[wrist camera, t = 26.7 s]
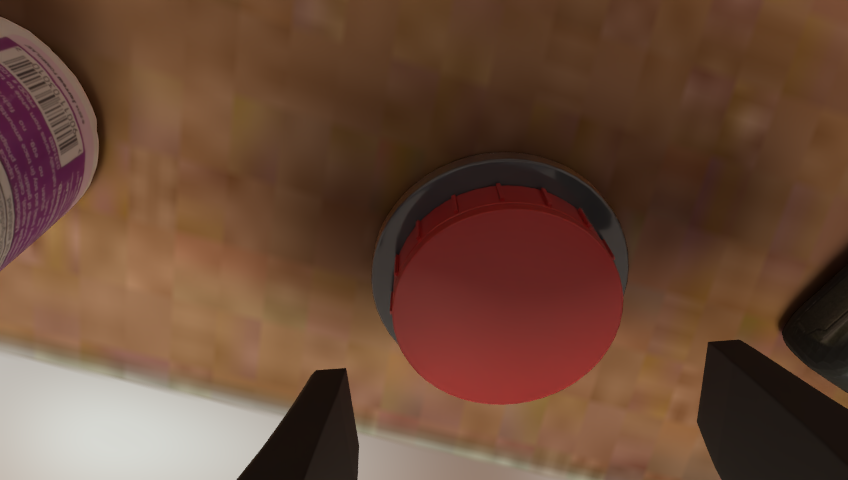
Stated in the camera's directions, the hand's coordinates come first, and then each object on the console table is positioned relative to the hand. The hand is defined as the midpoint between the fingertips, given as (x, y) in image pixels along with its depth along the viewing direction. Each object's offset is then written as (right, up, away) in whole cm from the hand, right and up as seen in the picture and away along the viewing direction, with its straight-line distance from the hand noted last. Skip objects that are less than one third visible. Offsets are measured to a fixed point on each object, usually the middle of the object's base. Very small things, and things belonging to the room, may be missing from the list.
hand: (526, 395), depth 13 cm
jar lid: (0, +1, +3) cm, 3 cm away
